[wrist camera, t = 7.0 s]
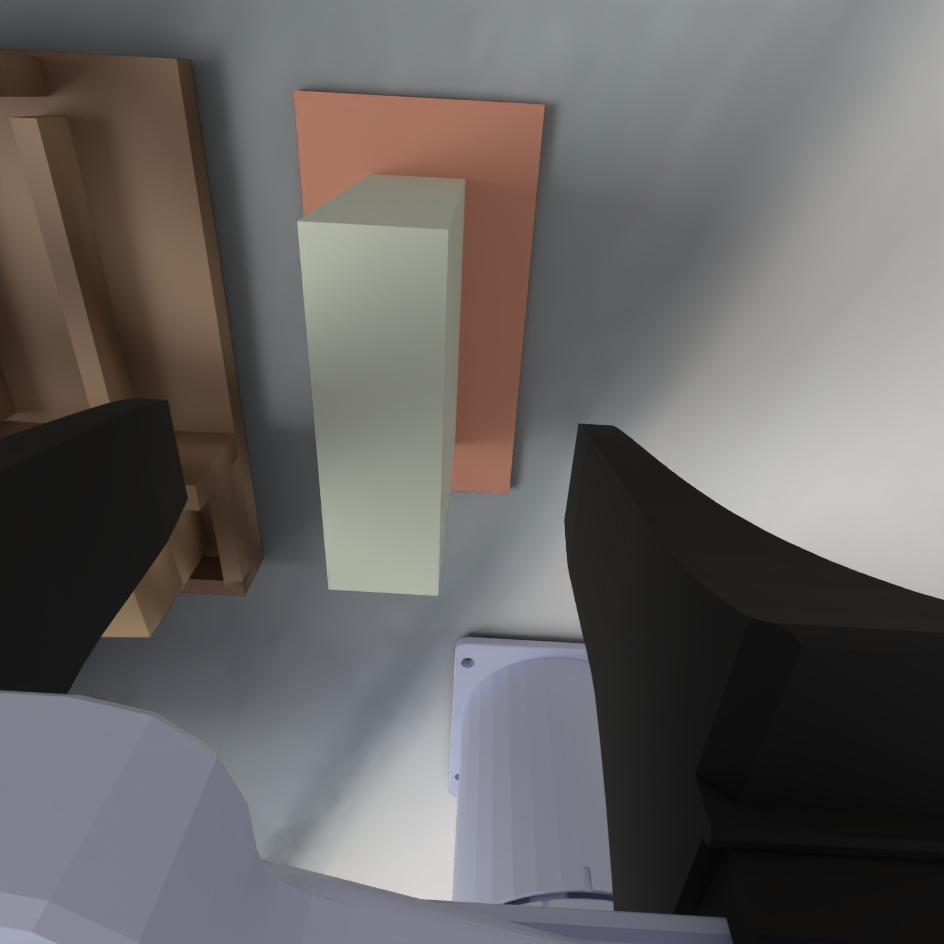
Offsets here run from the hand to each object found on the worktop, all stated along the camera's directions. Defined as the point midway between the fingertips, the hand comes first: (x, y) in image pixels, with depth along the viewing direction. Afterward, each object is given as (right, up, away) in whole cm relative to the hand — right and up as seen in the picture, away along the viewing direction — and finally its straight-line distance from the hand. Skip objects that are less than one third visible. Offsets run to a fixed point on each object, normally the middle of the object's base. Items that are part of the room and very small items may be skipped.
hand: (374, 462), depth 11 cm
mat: (0, +4, +7) cm, 8 cm away
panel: (0, +4, +7) cm, 8 cm away
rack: (-10, +3, +8) cm, 13 cm away
